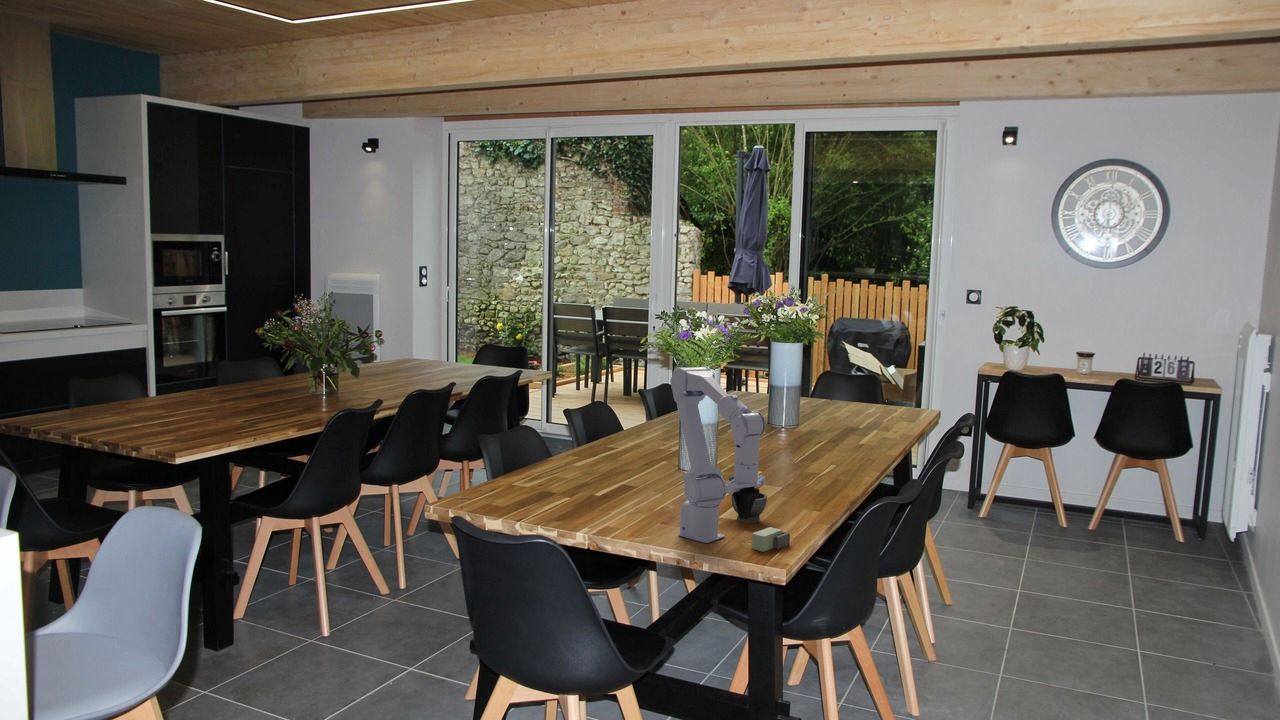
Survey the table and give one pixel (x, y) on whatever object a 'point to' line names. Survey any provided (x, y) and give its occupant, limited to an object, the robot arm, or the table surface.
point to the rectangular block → (765, 539)
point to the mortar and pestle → (756, 509)
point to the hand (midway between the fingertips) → (743, 518)
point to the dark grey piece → (782, 540)
